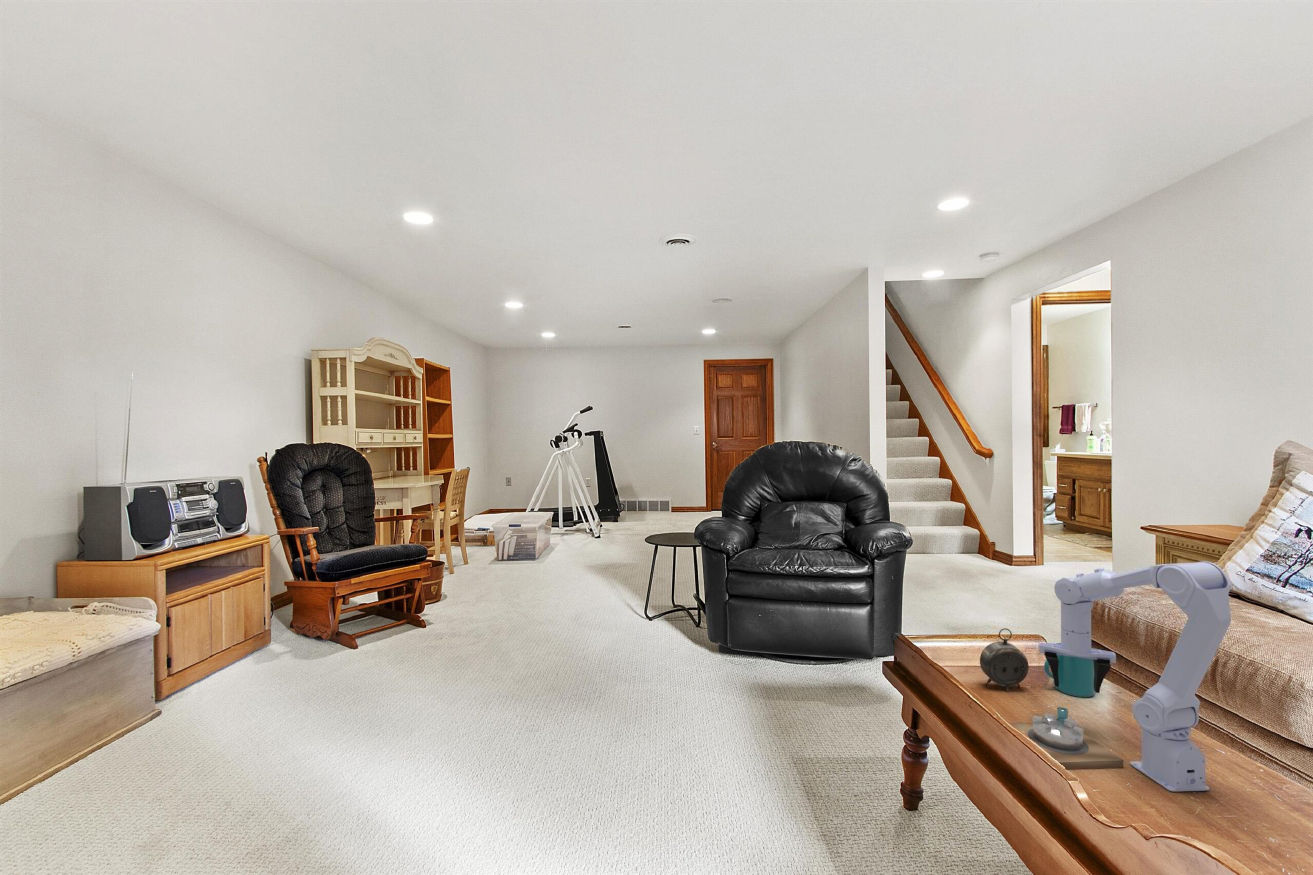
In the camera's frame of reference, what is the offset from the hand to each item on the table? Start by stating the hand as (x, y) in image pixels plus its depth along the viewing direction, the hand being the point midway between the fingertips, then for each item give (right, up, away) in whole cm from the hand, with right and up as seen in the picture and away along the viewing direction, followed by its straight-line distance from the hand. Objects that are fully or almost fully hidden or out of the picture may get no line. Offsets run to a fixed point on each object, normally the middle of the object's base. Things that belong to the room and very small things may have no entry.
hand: (1076, 688), depth 136 cm
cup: (+12, -9, +20) cm, 25 cm away
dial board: (-10, -10, -8) cm, 16 cm away
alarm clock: (-4, -10, +21) cm, 24 cm away
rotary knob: (-9, -8, -7) cm, 13 cm away
